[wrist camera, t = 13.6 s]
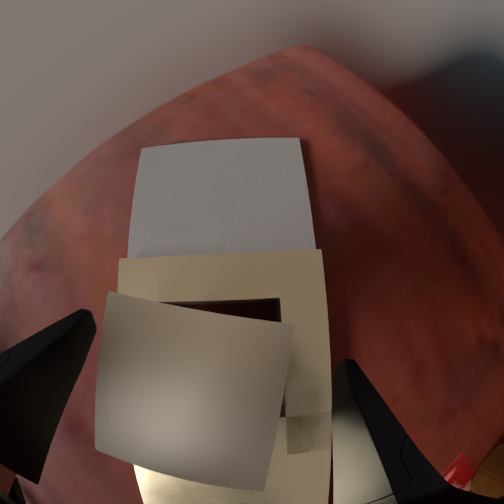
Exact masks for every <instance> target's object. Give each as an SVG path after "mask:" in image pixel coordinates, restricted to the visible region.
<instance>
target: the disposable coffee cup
mask: <svg viewBox="0 0 504 504" xmlns="http://www.w3.org/2000/svg"><path fill="white" fill-rule="evenodd" d="M471 490H472V492H474V493H476V494H479V495H483V496H488V497H492V498H499V497H501V496H503V495H504V444H500V445H498V446H497V447H496V448H494V449H493V450H492V451H491V452H490V453H489V455H488V456H487V457H486V458H485V460H484V461H483V462H482V464H481V465H480V467H479V469H478V470H477V472H476V474H475V476H474V478H473V481H472V484H471Z"/></svg>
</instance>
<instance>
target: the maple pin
mask: <svg viewBox="0 0 504 504" xmlns="http://www.w3.org/2000/svg"><path fill="white" fill-rule="evenodd" d="M293 330H294V324H290V323H281V322H273V321H266V320H259V319H251V318H245V317H238V316H232V315H225V314H219V313H213V312H207V311H202V310H196V309H191V308H185V307H180V306H175V305H170V304H165V303H160V302H155V301H150V300H146V299H141V298H137V297H132V296H128V295H124V294H119V293H115V292H111V291H108V297H107V302H106V308H105V314H104V320H103V326H102V333H101V341H100V349H99V358H98V368H97V381H96V398H95V449H96V450H98V451H101V452H103V453H105V454H108V455H110V456H112V457H115V458H117V459H120V460H122V461H125V462H128V463H131V464H133V465H136V466H139V467H142V468H145V469H148V470H151V471H155V472H158V473H161V474H165V475H168V476H172V477H176V478H180V479H184V480H189V481H193V482H198V483H203V484H208V485H214V486H220V487H226V488H233V489H242V490H251V491H264V488H265V484H266V479H267V475H268V471H269V466H270V462H271V457H272V452H273V447H274V443H275V438H276V433H277V427H278V422H279V417H280V412H281V406H282V400H283V395H284V389H285V383H286V377H287V370H288V364H289V358H290V351H291V344H292V337H293Z"/></svg>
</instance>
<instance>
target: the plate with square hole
mask: <svg viewBox="0 0 504 504" xmlns="http://www.w3.org/2000/svg"><path fill="white" fill-rule="evenodd" d="M118 293H119V294H124V295H128V296H132V297H137V298H141V299H146V300H150V301H155V302H160V303H165V304H170V305H213V304H240V303H260V302H276V313H277V322H281V323H290V324H294V330H293V337H292V344H291V351H290V358H289V364H288V370H287V377H286V383H285V389H284V395H283V400H282V406H281V412H280V417H279V422H278V427H277V433H276V438H275V443H274V447H273V452H272V457H271V462H270V466H269V471H268V475H267V479H266V484H265V488H264V491H251V490H242V489H233V488H226V487H220V486H214V485H208V484H203V483H198V482H193V481H189V480H184V479H180V478H176V477H172V476H168V475H165V474H161V473H158V472H155V471H151V470H148V469H145V468H142V467H139V466H136V465H134V469H135V473H136V477H137V481H138V485H139V488H140V492H141V496H142V499H143V502H144V504H328V496H329V483H330V465H331V434H332V423H331V410H332V393H331V360H330V340H329V324H328V311H327V299H326V288H325V277H324V268H323V259H322V250H321V249H316V246H315V237H314V229H313V222H312V215H311V207H310V201H309V194H308V187H307V181H306V175H305V169H304V163H303V157H302V152H301V146H300V141H299V138H246V139H226V140H212V141H200V142H189V143H180V144H171V145H163V146H156V147H149V148H143V149H141V154H140V160H139V165H138V171H137V177H136V183H135V190H134V197H133V205H132V213H131V222H130V232H129V243H128V257H127V258H121V259H119V271H118Z"/></svg>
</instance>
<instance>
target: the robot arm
mask: <svg viewBox="0 0 504 504" xmlns="http://www.w3.org/2000/svg"><path fill="white" fill-rule="evenodd" d="M96 329H97V328H96V324H95V321H94V318H93V315H92V312H91V311H89V310H86V309H80V310H78V311H76V312H74V313H72V314H70V315H68V316H67V317H65V318H63V319H61V320H59V321H57V322H56V323H54V324H52V325H50V326H48V327H46V328H45V329H43V330H41V331H39V332H37V333H36V334H34V335H32V336H30V337H29V338H27V339H25V340H23V341H22V342H20V343H18V344H16V345H14V346H13V347H12V348H9V349H8V350H6V351H4V352H2V353H0V504H25V503H26V501H25V498H24V496H23V493H22V490H21V488H20V485H19V482H18V479H17V477H16V474H18V475H20V476H22V477H24V478H26V479H27V480H29V481H31V482H33V483H35V484H37V485H38V483H39V480H40V477H41V473H42V470H43V467H44V464H45V460H46V457H47V454H48V451H49V448H50V445H51V442H52V439H53V437H54V434H55V431H56V429H57V426H58V423H59V421H60V418H61V416H62V413H63V411H64V408H65V406H66V404H67V401H68V399H69V397H70V394H71V392H72V390H73V387H74V385H75V383H76V381H77V379H78V376H79V374H80V372H81V370H82V368H83V366H84V363H85V361H86V358H87V355H88V352H89V350H90V347H91V344H92V342H93V339H94V336H95V334H96ZM331 423H332V443H333V504H504V495H503V496H501V497H499V498H492V497H488V496H483V495H479V494H476V493H472V492H468V491H465V490H462V489H458V488H456V487H454V486H452V485H451V484H449V483H448V482H447V481H446V480H445V479H444V478H443V477H442V476H441V475H440V474H439V472H438V471H437V470H436V469H435V468H434V467H433V466H432V465H431V463H430V462H429V461H428V460H427V459H426V458H425V457H424V455H423V454H422V453H421V452H420V450H419V449H418V448H417V446H416V445H415V444H414V442H413V441H412V440H411V438H410V437H409V435H408V434H406V431H405V430H404V428H403V427H402V425H401V424H400V423H399V421H398V420H397V418H396V417H395V416H394V414H393V413H392V411H391V410H390V409H389V407H388V406H387V404H386V403H385V402H384V400H383V399H382V397H381V396H380V395H379V393H378V392H377V390H376V389H375V388H374V386H373V385H372V384H371V382H370V381H369V379H368V378H367V377H366V375H365V374H364V373H363V371H362V370H361V368H360V367H359V366H358V364H357V363H356V362H355V361H354V360H353V359H342V360H341V362H340V363H339V365H338V367H337V369H336V371H335V372H334V375H333V391H332V410H331Z"/></svg>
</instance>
